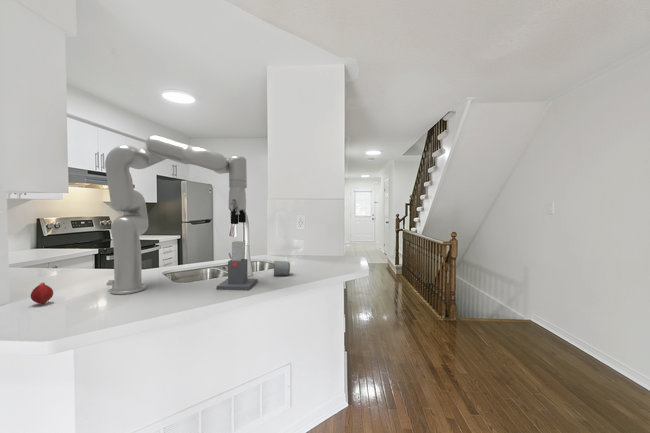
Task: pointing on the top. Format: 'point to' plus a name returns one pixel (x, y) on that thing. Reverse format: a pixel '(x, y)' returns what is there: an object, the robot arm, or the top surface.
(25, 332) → the top surface
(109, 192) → the robot arm
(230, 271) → the stand
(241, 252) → the column
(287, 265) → the ceramic mug
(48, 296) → the onion
